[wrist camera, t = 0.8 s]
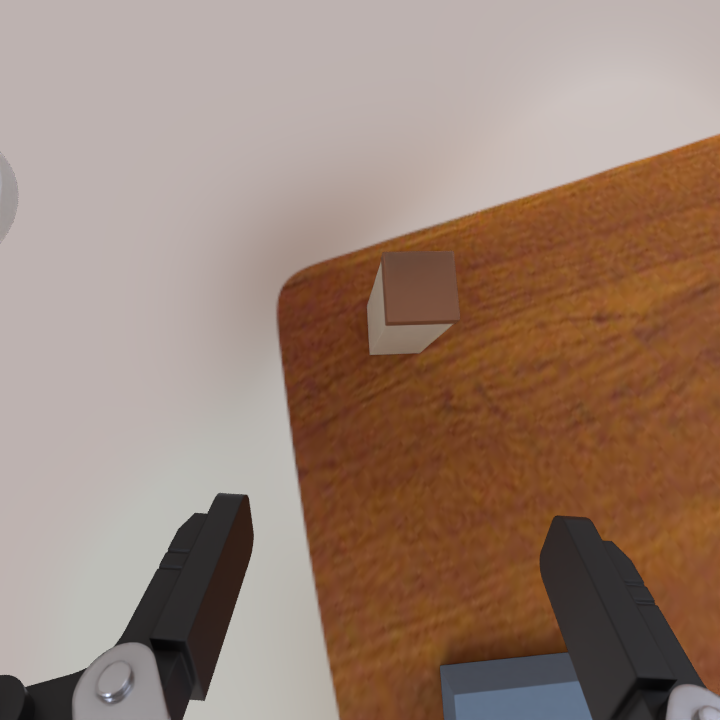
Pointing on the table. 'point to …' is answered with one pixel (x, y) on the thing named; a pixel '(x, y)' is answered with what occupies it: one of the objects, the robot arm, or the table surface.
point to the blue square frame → (514, 689)
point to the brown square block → (412, 301)
